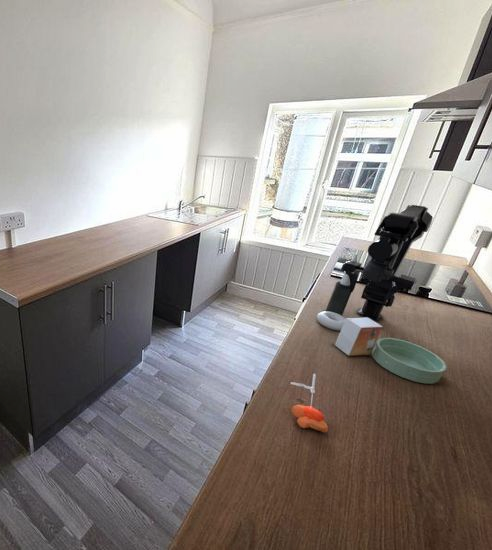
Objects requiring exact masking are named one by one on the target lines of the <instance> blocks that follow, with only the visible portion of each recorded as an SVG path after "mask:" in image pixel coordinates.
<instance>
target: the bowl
mask: <svg viewBox="0 0 492 550" xmlns="http://www.w3.org/2000/svg"><path fill="white" fill-rule="evenodd" d="M371 356H372V358H373V360H375V362H376V363H377V364H379V365H380V366H381V367H382V368H384V369H385V370H387V371H389V372H390V373H392V374H394V375H397V376H398V377H400V378H403V379H407V380H409V381H412V382H416V383H420V384H430V385H431V384H432V385H434V384H436V383H439V382H440V381H441V378H442V377H443V375H444V373H445V372H446V370H447V364H446V361H444V360H443V359H442V358H441V357H440V356H439V355H437V354H436V353H434V352H432V351H431V350H429V349H427V348H424V347H423V346H421V345H418V344H416V343H413V342H410V341H407V340H403V339H400V338H393V337H382V338H378V339H377V341H376V343H375V345H374V347H373V349H372V351H371Z"/></svg>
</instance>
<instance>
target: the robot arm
mask: <svg viewBox="0 0 492 550" xmlns="http://www.w3.org/2000/svg"><path fill="white" fill-rule="evenodd" d="M428 210H429V207H426V206H425V205H424V206H423V205H417V204H408V205H407V206H406V207H405V209H403V210H402V211H401V212H390V213H388V215H385V216H384V217H383V219H382V220H381V222H380V223H379V225H378V227H377V229H376V231H375V232H374V234H373V235H374V236H378V237H379V238H378V240H376V241H374V242H372V243H371V244H369V245H368V248H367V254H368V256H369V257H370V258H371V259H370V261H368V263H366V265H365V267H364V266H362V263H361V262H358V261H357V262H354V261H351V260H352V259H351V260H347V261H346V262H343V264H341V265H342V266H341V268H340V271H343V272H345V274H347V275H348V276H349V279H350V292H352V293H353V292H354V290H355V288H356V285H357V282H358V279H359V276H360V274H361V273H362V274H361V278H362V279H364V280H365V279H366V280H370V281H369V282H368V283H367V284H366V285H365V286H364V288H363V290H362V293H361V296H360V298H361V300H362V299H363V300H365V301H364V303H363V305H362V308H360V309H359V310H358V311H357V314H358V315H361V316H362V317H368V318H369V319H371V320H373V321H379V320H380V319H381V318H382V316H383V314H381V313H382V311H383V309H384V307H386V308H388V307H392V306H393V305H394V301H395V298H396V296H395V294H396V293H398V292H399V291H400V292H405V291H412V290H413V288H415V286H416V284H417V282H418V279H417V278H416V277H413V276H409V275H405V274H401V275H399V276H396V275H397V273H398V271H399V270H400V268H401V266H402V264H403V262H404V260H405V258H406V256H407V254H408V252H409V251H410V249H411V246H412V245H413V244H414V242H416V241H417V240H419V239H421V238H423V236H424V234H425V233H428V231H429V229H430V227H431V225H432V222H433V218H434V217H433V216H432V215H431V213H430V212H428Z"/></svg>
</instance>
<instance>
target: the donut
mask: <svg viewBox="0 0 492 550" xmlns="http://www.w3.org/2000/svg"><path fill="white" fill-rule="evenodd" d="M346 318H347V317H345V316H344V315H340V314H337V313H334V312H327V311H326V310H325V311H321V312H319V313H318V314H317V316H316V319H317V322H318V323H319V324H320V325H321V326H323V327H325V328H327V329H330V330H333V331H339V332H341V329H342V327H343V324H344V322H345V320H346Z"/></svg>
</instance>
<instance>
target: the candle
mask: <svg viewBox="0 0 492 550" xmlns="http://www.w3.org/2000/svg"><path fill="white" fill-rule="evenodd" d="M351 261H354V262H358V254H357V253H356V254H354V256H353V257H352V259H351ZM352 293H353V292H350V279H349V276H348V275H347V274H345V271H343V275H342V276H341V279H340V281H337V282H335V285H334V287H333V290H332V292H331V296H330V298H329V301H328V303H327V306H326V309H325V311H327V312H334V313H337V314H340V315H342V316H344V312H345V309H346V308H347V305H348V302H349V300H350V298H351V295H352Z"/></svg>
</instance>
